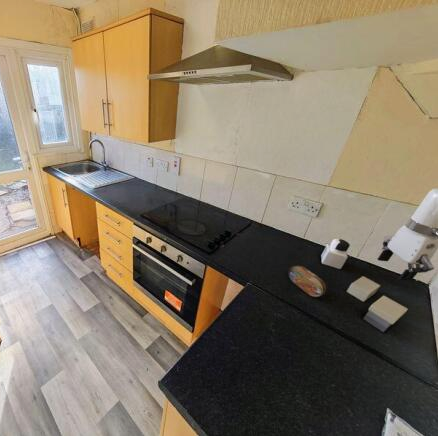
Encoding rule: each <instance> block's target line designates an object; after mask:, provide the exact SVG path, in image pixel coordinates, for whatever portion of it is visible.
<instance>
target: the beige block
mask: <svg viewBox="0 0 438 436" xmlns="http://www.w3.org/2000/svg"><path fill="white" fill-rule="evenodd" d="M380 287H381V284H378V283H377V282H375V281H373V280H371V279H369V278H367V277H366V276H361V277H360V278H358V279H356V280H355V281H354V282H351V284H350V285H349V287H348V288H347V290H346V293H348V294H350V295H351V296H353V297H355V298H356V299H358V300H360V301H361V302H363V303H364V302H365V301H368V299H370V298H371V297H372V296H374V295H375V294H376V293H377V291H378V290H379V289H380Z"/></svg>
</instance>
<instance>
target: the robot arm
mask: <svg viewBox="0 0 438 436" xmlns="http://www.w3.org/2000/svg"><path fill="white" fill-rule="evenodd" d="M382 246H383V247H382V248H381V250H382V251H381V253H380V254H379V256H378V257H377V260H378V261H379V262H389V261H390V259H391V258H392V257H393V255H394V254H395V255H396V256H398V258H400V259H401V260H403V261H404V262H405V263H407V268H408V269H407V268H406V269H404V270H403V272H402V273H401V274H400V276H399V280H401V281H408V282H409V281H412V280H414V278H415V277H416V276H417V274H422V273H428V272H431V271H433V270H435V266H434V265H433V263H432V261H431V259H432V258H433V257H434V255H435V254H436V252H437V250H438V187H435V188H432V189H430V190H429V192H427V194H426V195H425V197H424V198H423V199H422V201H421V203H420V204H419V205H418V207H417V208H416V210H415V211H414V212H413V214H412V216H411V217H410V218H409V220H408V221H407V223H406V224H404V225H402V226H401V227H400V228H399V229H398V230H397V231H396V232H395V234H393V236H392V235H391V236H390V235H384V237H383V242H382Z"/></svg>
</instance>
